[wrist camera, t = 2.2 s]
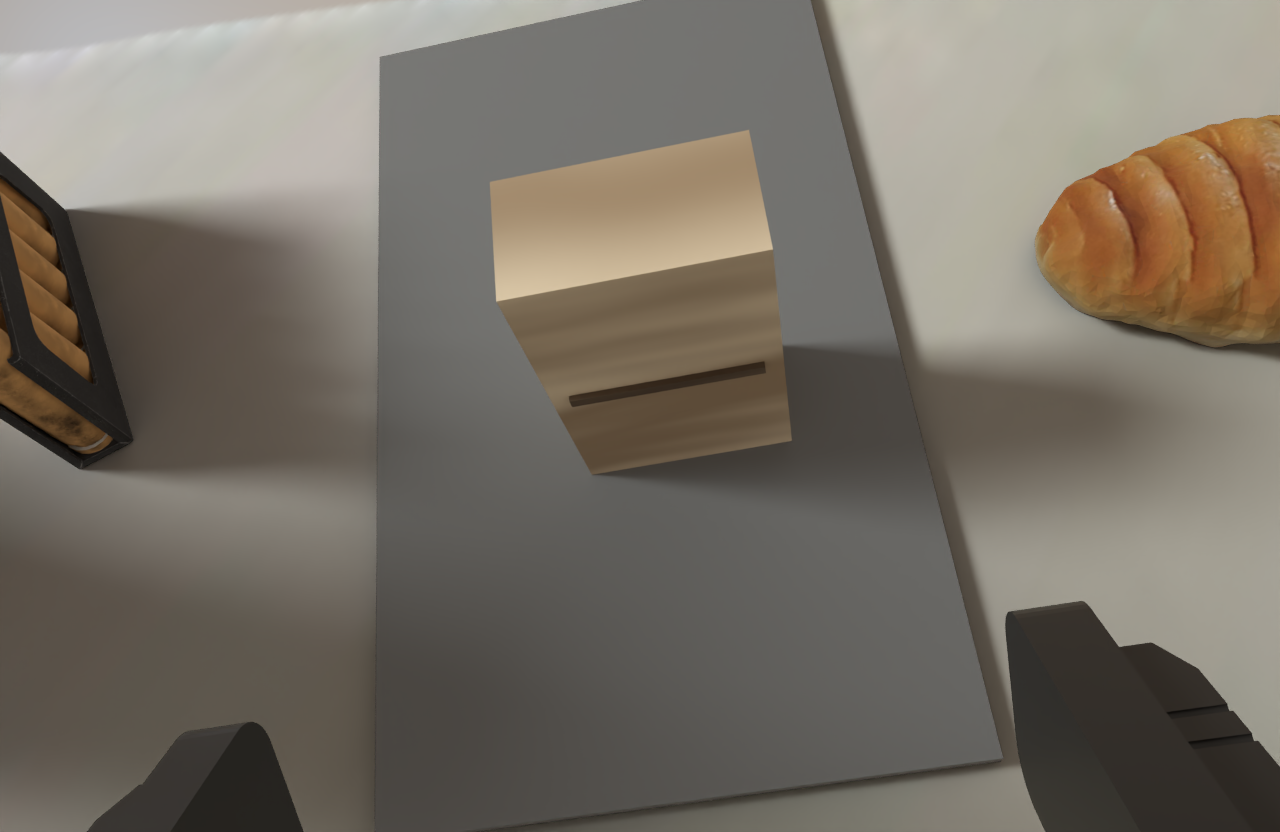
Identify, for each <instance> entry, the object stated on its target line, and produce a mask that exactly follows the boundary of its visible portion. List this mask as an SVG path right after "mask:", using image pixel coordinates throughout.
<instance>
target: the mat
mask: <svg viewBox="0 0 1280 832" xmlns="http://www.w3.org/2000/svg"><path fill="white" fill-rule="evenodd" d="M746 130H749V133H750V138H751V142H752V147H753V152H754V157H755V162H756V167H757V172H758V177H759V182H760V187H761V192H762V197H763V202H764V207H765V212H766V217H767V222H768V227H769V232H770V237H771V242H772V247H773V255H774V265H775V275H776V285H777V295H778V305H779V315H780V325H781V336H782V346H783V356H784V366H785V376H786V386H787V396H788V406H789V416H790V427H791V437H792V441H788V442H783V443H777V444H771V445H765V446H759V447H753V448H747V449H741V450H735V451H729V452H723V453H718V454H712V455H706V456H700V457H694V458H688V459H682V460H676V461H670V462H664V463H658V464H653V465H647V466H641V467H635V468H629V469H623V470H617V471H611V472H605V473H599V474H593V475H592V474H591V472H590V471H589V469H588V467H587V465H586V463H585V461H584V460H583V458H582V456H581V454H580V452H579V451H578V449H577V447H576V445H575V443H574V442H573V440H572V438H571V436H570V434H569V432H568V431H567V429H566V427H565V425H564V423H563V422H562V420H561V418H560V416H559V414H558V413H557V411H556V409H555V407H554V405H553V403H552V402H551V400H550V398H549V396H548V394H547V393H546V391H545V389H544V387H543V385H542V384H541V382H540V380H539V378H538V376H537V375H536V373H535V371H534V369H533V367H532V365H531V364H530V362H529V360H528V358H527V356H526V355H525V353H524V351H523V349H522V347H521V346H520V344H519V342H518V340H517V338H516V336H515V335H514V333H513V331H512V329H511V327H510V326H509V324H508V322H507V320H506V318H505V317H504V315H503V313H502V311H501V309H500V308H499V306H498V304H497V302H496V288H495V270H494V251H493V233H492V214H491V196H490V182H492V181H497V180H502V179H507V178H512V177H517V176H522V175H527V174H532V173H537V172H542V171H547V170H552V169H557V168H562V167H567V166H572V165H577V164H582V163H587V162H592V161H597V160H602V159H607V158H612V157H617V156H622V155H627V154H632V153H636V152H641V151H646V150H651V149H656V148H661V147H666V146H671V145H676V144H681V143H686V142H691V141H696V140H701V139H706V138H711V137H716V136H721V135H726V134H731V133H736V132H741V131H746ZM1002 759H1003V755H1002V751H1001V747H1000V743H999V739H998V735H997V731H996V727H995V724H994V720H993V716H992V712H991V708H990V704H989V700H988V696H987V692H986V688H985V684H984V680H983V676H982V672H981V668H980V665H979V661H978V657H977V653H976V649H975V645H974V641H973V637H972V633H971V629H970V625H969V621H968V617H967V613H966V609H965V606H964V602H963V598H962V594H961V590H960V586H959V582H958V578H957V574H956V570H955V566H954V562H953V558H952V554H951V550H950V546H949V543H948V539H947V535H946V531H945V527H944V523H943V519H942V515H941V511H940V507H939V503H938V499H937V495H936V491H935V487H934V484H933V480H932V476H931V472H930V468H929V464H928V460H927V456H926V452H925V448H924V444H923V440H922V436H921V432H920V428H919V425H918V421H917V417H916V413H915V409H914V405H913V401H912V397H911V393H910V389H909V385H908V381H907V377H906V373H905V369H904V366H903V362H902V358H901V354H900V350H899V346H898V342H897V338H896V334H895V330H894V326H893V322H892V318H891V314H890V310H889V307H888V303H887V299H886V295H885V291H884V287H883V283H882V279H881V275H880V271H879V267H878V263H877V259H876V255H875V251H874V248H873V244H872V240H871V236H870V232H869V228H868V224H867V220H866V216H865V212H864V208H863V204H862V200H861V196H860V192H859V189H858V185H857V181H856V177H855V173H854V169H853V165H852V161H851V157H850V153H849V149H848V145H847V141H846V137H845V133H844V130H843V126H842V122H841V118H840V114H839V110H838V106H837V102H836V98H835V94H834V90H833V86H832V82H831V78H830V74H829V70H828V67H827V63H826V59H825V55H824V51H823V47H822V43H821V39H820V35H819V31H818V27H817V23H816V19H815V15H814V11H813V8H812V4H811V0H641V1H637V2H632V3H627V4H623V5H618V6H613V7H609V8H604V9H600V10H595V11H590V12H586V13H581V14H576V15H572V16H567V17H563V18H558V19H553V20H549V21H544V22H540V23H535V24H530V25H526V26H521V27H516V28H512V29H507V30H503V31H498V32H493V33H489V34H484V35H479V36H475V37H470V38H466V39H461V40H456V41H452V42H447V43H442V44H438V45H433V46H429V47H424V48H419V49H415V50H410V51H405V52H401V53H396V54H392V55H387V56H382V57H380V112H379V265H378V419H377V572H376V726H375V832H478V831H486V830H493V829H500V828H508V827H515V826H523V825H530V824H538V823H545V822H553V821H560V820H567V819H575V818H582V817H590V816H597V815H605V814H612V813H619V812H627V811H634V810H642V809H649V808H657V807H664V806H672V805H679V804H686V803H694V802H701V801H709V800H716V799H724V798H731V797H738V796H746V795H753V794H761V793H768V792H776V791H783V790H791V789H798V788H805V787H813V786H820V785H828V784H835V783H843V782H850V781H857V780H865V779H872V778H880V777H887V776H895V775H902V774H910V773H917V772H924V771H932V770H939V769H947V768H954V767H962V766H969V765H976V764H984V763H991V762H999V761H1001V760H1002Z"/></svg>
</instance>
